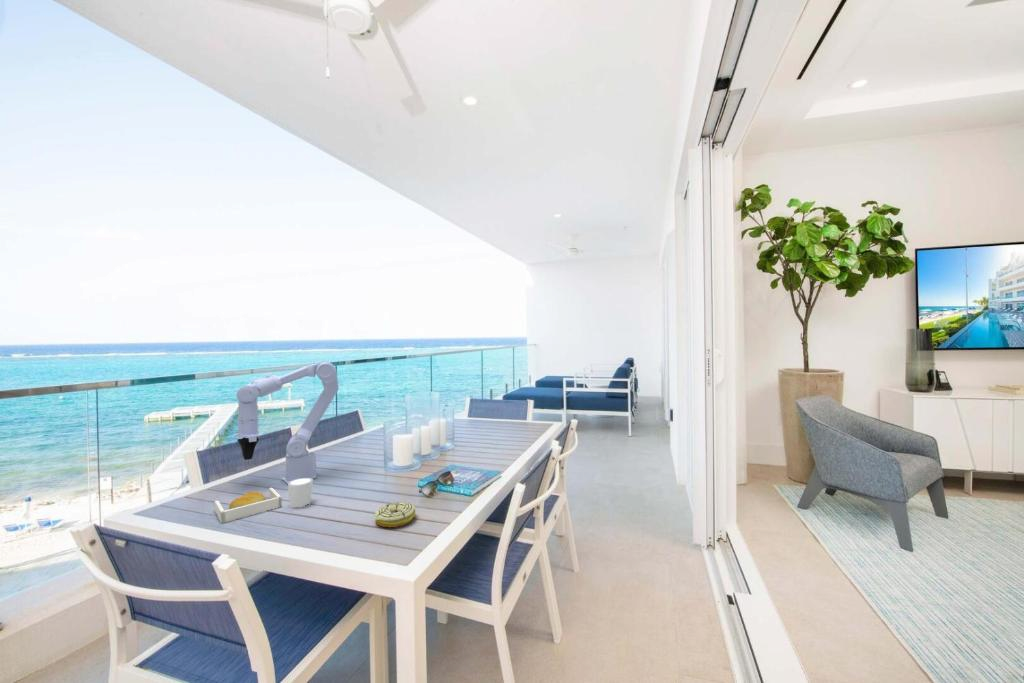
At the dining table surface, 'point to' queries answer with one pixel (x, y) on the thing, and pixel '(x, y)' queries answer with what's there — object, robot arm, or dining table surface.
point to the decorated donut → (395, 514)
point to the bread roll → (247, 499)
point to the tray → (248, 508)
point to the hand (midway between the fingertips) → (248, 459)
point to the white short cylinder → (300, 491)
